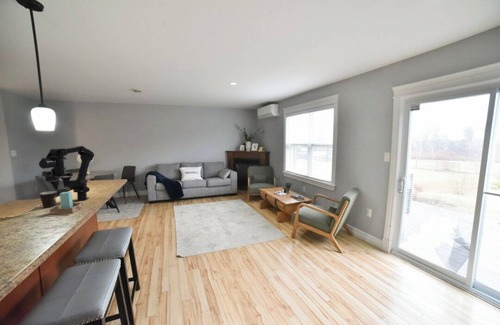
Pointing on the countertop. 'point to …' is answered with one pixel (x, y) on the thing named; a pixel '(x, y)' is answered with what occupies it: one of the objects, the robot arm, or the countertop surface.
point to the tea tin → (66, 200)
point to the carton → (65, 210)
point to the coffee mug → (48, 199)
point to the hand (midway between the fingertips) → (61, 188)
